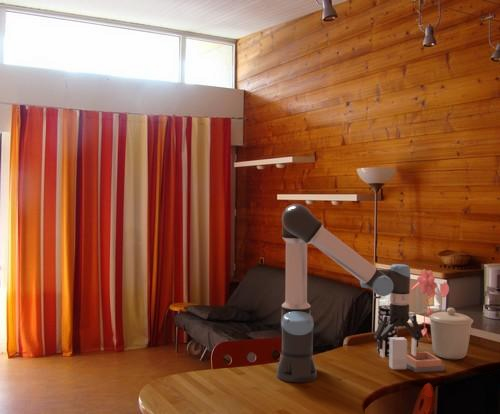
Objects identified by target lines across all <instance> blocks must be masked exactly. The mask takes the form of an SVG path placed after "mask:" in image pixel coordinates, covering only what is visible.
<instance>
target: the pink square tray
mask: <svg viewBox="0 0 500 414" xmlns="http://www.w3.org/2000/svg"><path fill="white" fill-rule="evenodd" d="M407 369H409V370H410V371H412V372H414V373H423V372H441V371H445V366H444V365H443V364H442V358H441V359H440V357H438V356H436V355H433V353H430V352H429V351H418V352H417V351H416V356H413V355H412V354H411V351H410V352H407Z"/></svg>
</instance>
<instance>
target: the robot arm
mask: <svg viewBox="0 0 500 414" xmlns="http://www.w3.org/2000/svg"><path fill="white" fill-rule="evenodd" d="M281 222H282V223H281V225H282V226H281V236H282V237H281V238H282V240H283V241H284V242H285V292H284V293H285V299H284V300H285V301H284V302H283V303H282V304H281V319H280V326H281V356H280V359H279V362H278V365H277V367H276V377H277V378H278V379H279V380H282V381H285V382H289V383H295V384H297V383H300V384H301V383H310V382H312V381H315V380H316V379H317V376H318V374H317V373H318V372H317V368H316V365H315V361H314V357H313V351H314V350H313V347H314V346H313V343H314V342H313V341H314V327H315V324H314V318H313V316H312V315H311V304H310V303H308V300H307V299H308V245H309V244H311V245H313V246H314V247H315V248H317V249H318V250H319V251H320V252H322V253H323V254H324V255H326V256H327V257H329V258H330V259H332V261H333V262H335V263H336V264H338V265H339V266H340V267H342V268H343V269H344V270H345V271H347V272H348V273H350V275H352V276H353V277H355V278H356V279H358V281H359V283H360V286H361V288H364V289H370V290H372V291H373V292H374V293H375V294H376V295H378V296H380V297H386V296H389V295H390V296H389V302H390V303H389V306H390V315H389V316H385V315H383V316H382V321H381V323H380V325H379V327H378V326H377V329H376V331H375V333H374V335H373V338H374V340H377V341H378V348H379V349H380V354H379V357H381V358H382V359H383V358H386V355H385V341H384V339H385V338H386V336H387V335H388V334H389V333H390V331H391V330H392V329H393V328H394V327H398V328H404V327H405V329H407V331H408V332H409V334H410V335H411V344H410V348H411V349H410V350H411V351H410V352H411V354H412V355H413V356H416V352H417V348H419V341H420V340H421V339H423V338H424V336H423V334H422V332H421V331H422V329H421V328H420V326H419V323H418V321H417V315H415V314H414V313H413V314H412V313H411V314H410V315H409V313H410V304H409V303H410V296H411V295H410V294H411V293H410V292H411V291H410V290H411V288H410V287H411V267H410V265H407V264H403V263H393V264H391V265H390V268H389V269H383V268H382V269H381V268H380V269H379V268H377V267H376V266H375V265H373V264H372V263H371V262H369V261H368V260H366V258H364V257H363V256H362V255H361V254H359V253H357V252H356V251H355V250H354V249H352V248H351V247H349V246H348V245H347V244H346V243H344V242H343V241H342V240H341V239H339V238H338V237H337V236H335V235H334V234H333V233H331V231H329V230H328V229H326V228H325V227H324V223H323V222H321V221H320V220H319V219H318V218H317V217H316V216H315V215H314V214H313V213H312V212H311V210H310V209H309V207H307V206H305V205H304V204H302V203H293V204H290V205H288V206H286V207H285V209H284V210H283V211H282V214H281ZM388 320H390V322H389V323H388V326H387V327H386V328H385V326H386V323H387V321H388ZM409 320H410V321H411V324H412V326H413V327H412V326H411V324H410V323H409ZM384 328H385V329H384ZM383 330H384V331H383ZM420 338H421V339H420ZM416 347H417V348H416Z"/></svg>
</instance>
